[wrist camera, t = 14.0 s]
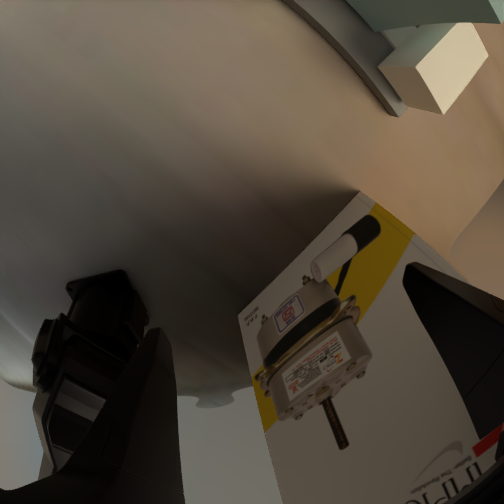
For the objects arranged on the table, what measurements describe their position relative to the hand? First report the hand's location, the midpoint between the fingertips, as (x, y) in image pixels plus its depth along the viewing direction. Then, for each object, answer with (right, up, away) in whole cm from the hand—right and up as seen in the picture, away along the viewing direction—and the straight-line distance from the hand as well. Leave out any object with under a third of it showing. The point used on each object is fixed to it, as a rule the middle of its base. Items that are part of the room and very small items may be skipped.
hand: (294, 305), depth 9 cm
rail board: (+7, +21, +4) cm, 22 cm away
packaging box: (+8, -3, +19) cm, 21 cm away
